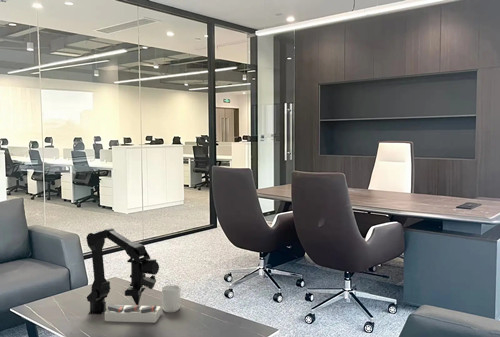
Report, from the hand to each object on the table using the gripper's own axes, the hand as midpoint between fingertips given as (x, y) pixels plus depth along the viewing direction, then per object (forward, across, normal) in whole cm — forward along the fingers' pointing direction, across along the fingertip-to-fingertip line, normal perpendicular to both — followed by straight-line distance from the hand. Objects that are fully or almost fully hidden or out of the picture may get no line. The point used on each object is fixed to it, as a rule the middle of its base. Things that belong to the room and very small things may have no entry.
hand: (137, 304), depth 202 cm
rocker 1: (+2, 0, +11) cm, 11 cm away
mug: (+7, +15, -13) cm, 21 cm away
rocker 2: (+2, 0, +3) cm, 4 cm away
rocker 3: (+2, 0, -5) cm, 6 cm away
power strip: (+7, +2, +2) cm, 8 cm away
